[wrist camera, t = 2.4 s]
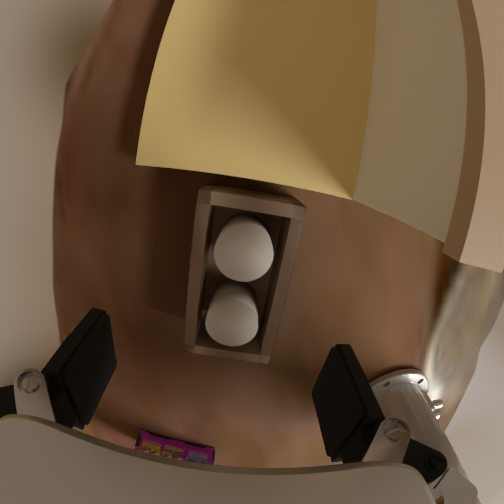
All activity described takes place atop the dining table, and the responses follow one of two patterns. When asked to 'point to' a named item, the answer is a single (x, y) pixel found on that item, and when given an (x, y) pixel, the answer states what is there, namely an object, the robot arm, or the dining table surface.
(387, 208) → the counter shelf
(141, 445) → the candy bar box
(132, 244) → the dining table surface
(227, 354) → the caddy
